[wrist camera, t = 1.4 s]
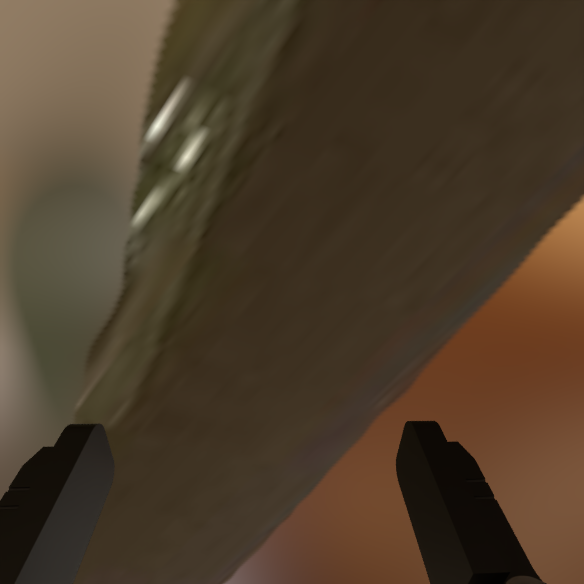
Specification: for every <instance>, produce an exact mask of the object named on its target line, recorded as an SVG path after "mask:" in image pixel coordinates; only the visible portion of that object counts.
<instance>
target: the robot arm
mask: <svg viewBox="0 0 584 584" xmlns="http://www.w3.org/2000/svg"><path fill="white" fill-rule="evenodd" d="M396 471H397V477H398V481H399V485H400V488H401V491H402V494H403V498H404V501H405V504H406V507H407V510H408V514H409V517H410V520H411V523H412V526H413V530H414V533H415V536H416V539H417V542H418V545H419V549H420V552H421V555H422V558H423V561H424V565H425V568H426V571H427V574H428V577H429V580H430V584H546V583H544V582H543V581H542V580H541V579H540V578H539V576H538V575H537V574H536V572H535V571H534V569H533V567H532V566H531V564H530V562H529V560H528V558H527V556H526V554H525V552H524V551H523V549H522V547H521V545H520V543H519V541H518V539H517V537H516V536H515V534H514V532H513V530H512V528H511V526H510V524H509V523H508V521H507V519H506V517H505V515H504V513H503V511H502V509H501V508H500V506H499V504H498V502H497V500H495V499H494V494H493V492H492V491H491V489H490V487H489V485H488V483H486V482H485V477H484V476H483V474H482V472H481V470H480V468H479V466H478V464H477V462H476V461H475V459H474V458H473V457H472V456H471V455H470V454H469V453H468V452H467V451H466V450H465V449H464V448H463V446H461V444H459V442H447V440H446V438H445V436H444V434H443V432H442V430H441V428H440V426H439V424H438V423H437V422H435V421H407V422H406V423H405V426H404V430H403V434H402V438H401V441H400V445H399V449H398V453H397V457H396ZM113 476H114V460H113V456H112V453H111V450H110V446H109V443H108V440H107V436H106V433H105V430H104V427H103V425H102V424H70V425H68V426H67V427H66V428H65V429H64V430H63V432H62V433H61V436H60V437H59V439H58V440H57V442H56V444H55V445H54V447H43V448H42V449H40V451H38V452H37V453H36V454H35V455H34V456H33V457H32V458H31V459H29V460H28V461H27V462H26V463H25V464H24V465H23V466H22V468H21V469H20V471H19V472H18V474H17V475H16V477H15V479H14V480H13V482H12V483H11V485H10V486H9V490H8V492H6V493H5V494H4V496H3V497H2V499H1V500H0V584H73V582H74V579H75V577H76V574H77V572H78V569H79V567H80V564H81V561H82V559H83V556H84V554H85V551H86V549H87V546H88V544H89V541H90V539H91V536H92V533H93V531H94V528H95V526H96V523H97V521H98V518H99V516H100V513H101V511H102V508H103V505H104V503H105V500H106V498H107V495H108V493H109V490H110V488H111V485H112V481H113Z"/></svg>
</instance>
